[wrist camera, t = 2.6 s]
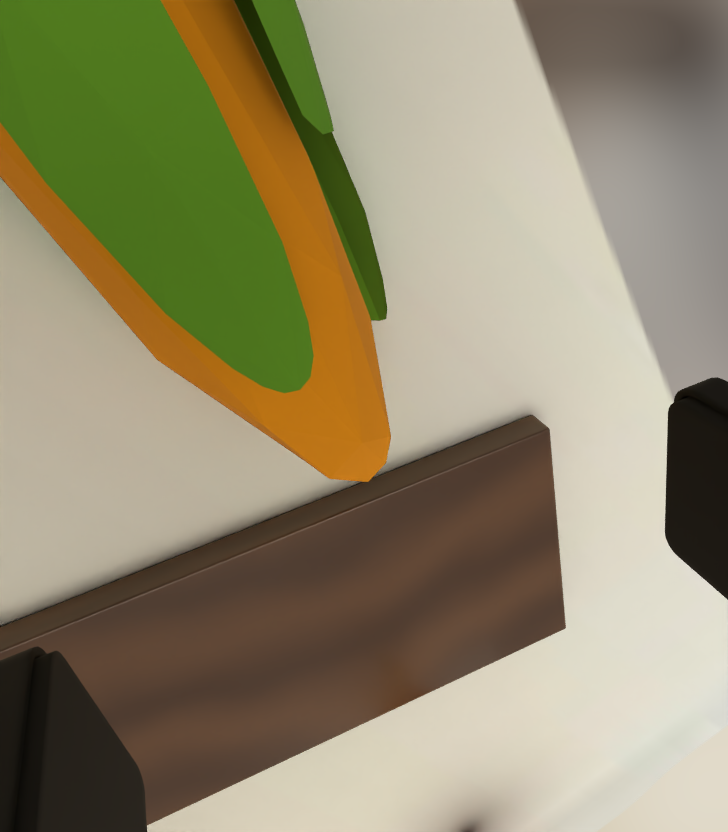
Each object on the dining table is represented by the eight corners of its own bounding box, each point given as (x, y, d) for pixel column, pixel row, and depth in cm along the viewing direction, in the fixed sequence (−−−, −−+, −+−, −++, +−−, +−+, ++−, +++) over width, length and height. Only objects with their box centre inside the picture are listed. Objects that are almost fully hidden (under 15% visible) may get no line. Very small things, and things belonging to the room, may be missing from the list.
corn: (-110, -1101, 6) (562, 478, 17) (21, -505, 12) (445, 354, 23) (-847, -619, 6) (304, 634, 17) (-330, -281, 12) (258, 467, 23)
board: (-102, 666, 22) (-112, 696, 21) (532, 413, 26) (550, 428, 25) (53, 841, 27) (52, 871, 26) (551, 610, 32) (566, 628, 31)
